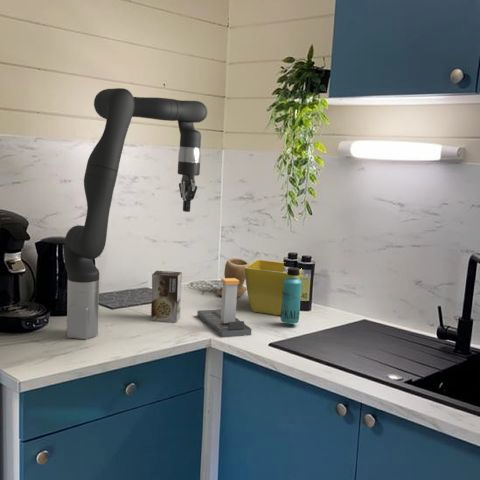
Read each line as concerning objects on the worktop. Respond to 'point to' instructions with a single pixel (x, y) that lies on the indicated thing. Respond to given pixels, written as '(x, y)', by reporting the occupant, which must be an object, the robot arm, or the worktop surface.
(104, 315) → the worktop surface
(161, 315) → the coffee box
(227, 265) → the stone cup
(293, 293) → the beverage bottle
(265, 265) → the flower pot
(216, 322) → the console
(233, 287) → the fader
